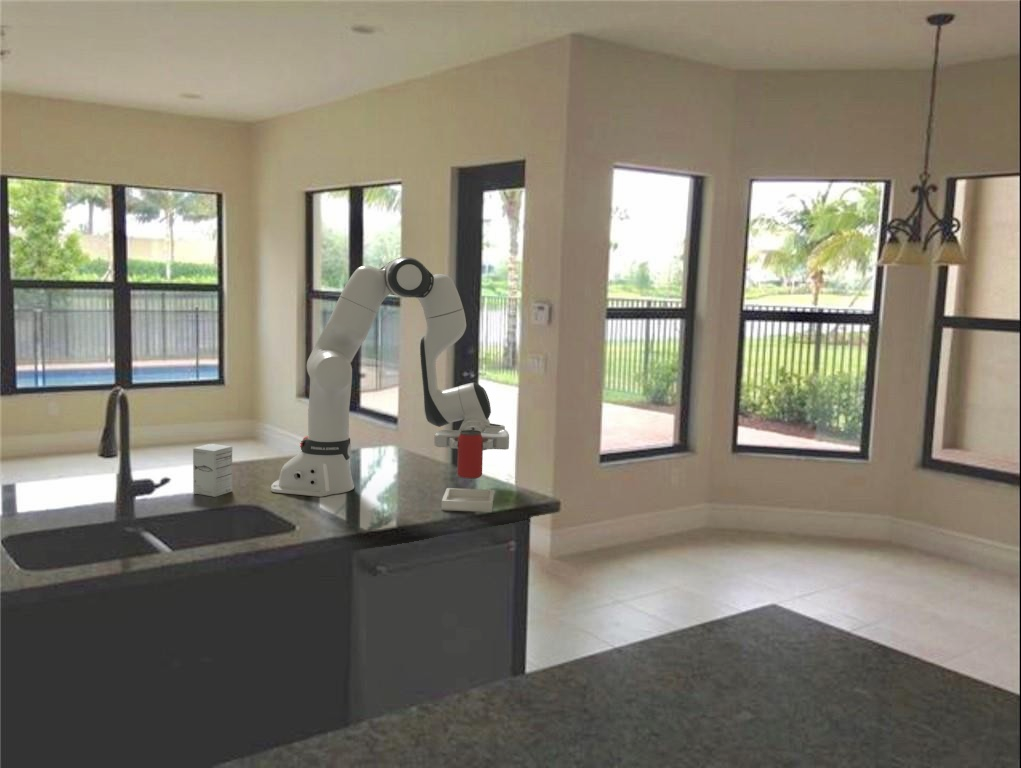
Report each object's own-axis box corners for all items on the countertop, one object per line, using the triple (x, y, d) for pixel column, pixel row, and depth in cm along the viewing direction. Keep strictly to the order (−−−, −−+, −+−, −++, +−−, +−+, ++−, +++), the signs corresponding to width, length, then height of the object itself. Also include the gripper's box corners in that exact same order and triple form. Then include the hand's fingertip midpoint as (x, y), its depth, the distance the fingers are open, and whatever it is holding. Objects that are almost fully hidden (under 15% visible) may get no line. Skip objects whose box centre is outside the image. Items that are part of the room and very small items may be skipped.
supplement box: (192, 494, 224) (191, 447, 223) (211, 487, 231) (211, 442, 229) (214, 497, 221) (213, 450, 220) (233, 491, 228) (233, 445, 227)
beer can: (471, 480, 218) (472, 435, 216) (452, 476, 222) (452, 431, 220) (487, 476, 223) (488, 432, 222) (468, 472, 227) (469, 428, 225)
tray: (441, 510, 217) (441, 500, 217) (446, 496, 230) (446, 487, 230) (491, 512, 217) (492, 502, 216) (493, 498, 230) (494, 489, 229)
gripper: (436, 423, 234) (430, 432, 220) (510, 425, 234) (508, 435, 220) (436, 445, 235) (430, 456, 221) (509, 447, 234) (508, 458, 221)
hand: (470, 445), depth 220 cm, fingers closed on beer can, 7 cm apart
